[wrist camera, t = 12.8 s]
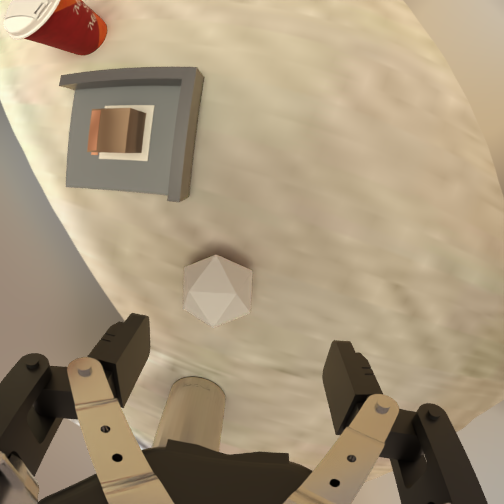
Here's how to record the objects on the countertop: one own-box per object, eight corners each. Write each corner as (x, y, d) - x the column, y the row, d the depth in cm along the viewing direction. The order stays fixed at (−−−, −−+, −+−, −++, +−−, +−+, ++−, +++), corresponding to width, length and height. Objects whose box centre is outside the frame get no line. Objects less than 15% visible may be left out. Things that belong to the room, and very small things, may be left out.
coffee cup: (125, 23, 30) (70, -23, 15) (89, 71, 32) (20, 45, 17) (90, 6, 28) (33, -33, 14) (56, 50, 30) (-10, 27, 16)
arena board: (188, 196, 37) (179, 202, 32) (68, 186, 37) (49, 190, 32) (204, 77, 32) (196, 67, 28) (79, 81, 32) (61, 75, 28)
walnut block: (146, 113, 33) (130, 107, 28) (141, 152, 34) (124, 153, 30) (110, 113, 33) (91, 108, 28) (106, 151, 34) (86, 152, 30)
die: (177, 259, 40) (164, 327, 34) (210, 226, 34) (199, 304, 29) (229, 280, 44) (223, 344, 38) (267, 253, 38) (266, 327, 33)
